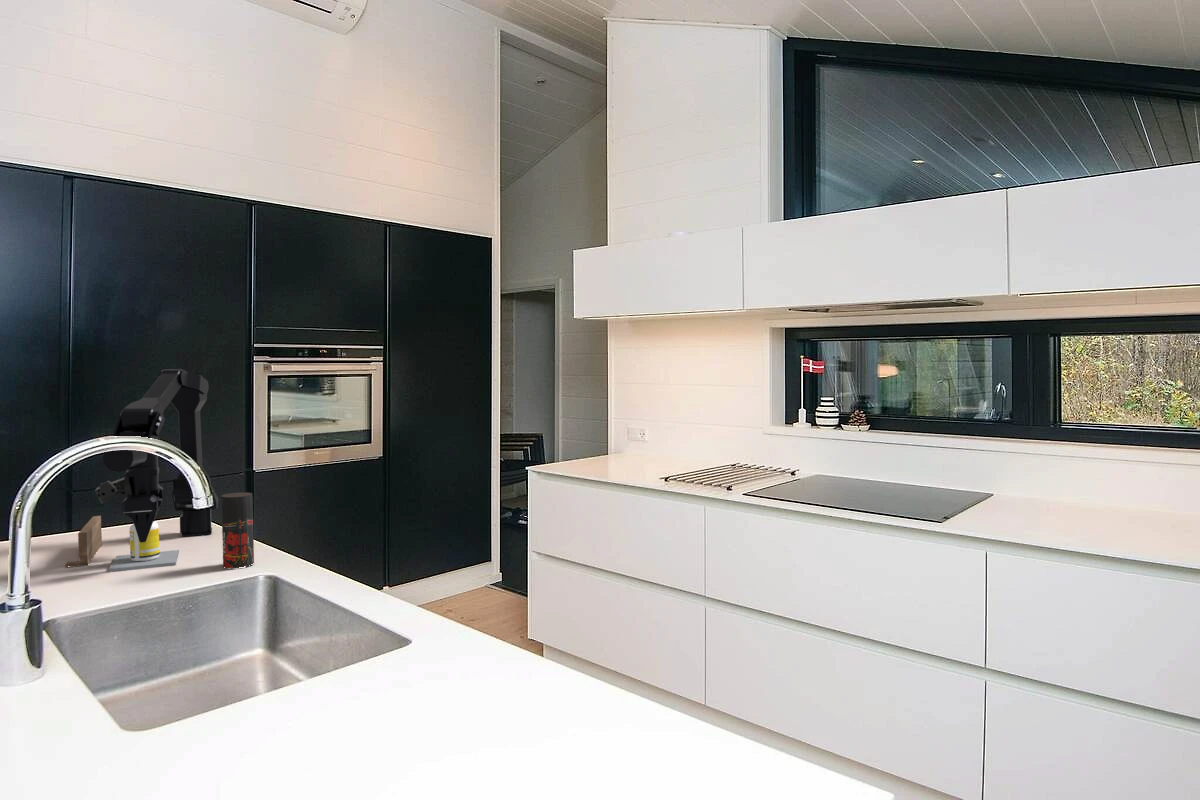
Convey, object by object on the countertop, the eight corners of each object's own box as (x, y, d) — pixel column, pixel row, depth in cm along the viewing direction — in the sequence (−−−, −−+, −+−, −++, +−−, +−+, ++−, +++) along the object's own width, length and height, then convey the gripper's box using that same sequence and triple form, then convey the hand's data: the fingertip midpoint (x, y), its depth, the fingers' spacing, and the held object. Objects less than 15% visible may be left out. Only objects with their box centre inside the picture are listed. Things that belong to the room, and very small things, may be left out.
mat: (179, 552, 172) (179, 549, 172) (175, 565, 161) (175, 562, 161) (116, 558, 167) (116, 555, 167) (108, 571, 156) (108, 569, 156)
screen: (102, 545, 179) (101, 515, 179) (88, 565, 161) (86, 532, 161) (81, 546, 178) (80, 517, 177) (65, 567, 160) (64, 534, 159)
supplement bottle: (165, 555, 167) (163, 511, 166) (148, 562, 161) (146, 516, 161) (142, 555, 167) (140, 511, 167) (124, 561, 162) (122, 515, 161)
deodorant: (216, 566, 160) (215, 495, 159) (241, 560, 165) (240, 491, 165) (235, 570, 157) (233, 498, 157) (260, 563, 163) (258, 493, 162)
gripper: (104, 462, 168) (106, 532, 169) (90, 473, 151) (93, 551, 152) (162, 459, 173) (164, 527, 174) (155, 469, 156) (157, 545, 157)
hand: (144, 537), depth 164 cm, fingers open, 9 cm apart
